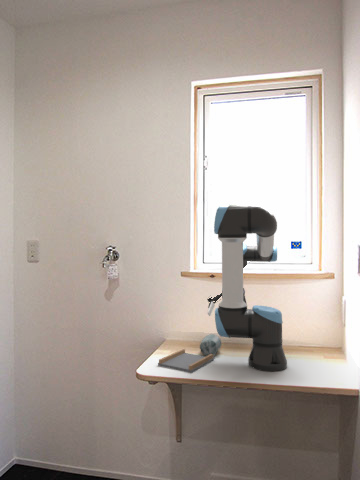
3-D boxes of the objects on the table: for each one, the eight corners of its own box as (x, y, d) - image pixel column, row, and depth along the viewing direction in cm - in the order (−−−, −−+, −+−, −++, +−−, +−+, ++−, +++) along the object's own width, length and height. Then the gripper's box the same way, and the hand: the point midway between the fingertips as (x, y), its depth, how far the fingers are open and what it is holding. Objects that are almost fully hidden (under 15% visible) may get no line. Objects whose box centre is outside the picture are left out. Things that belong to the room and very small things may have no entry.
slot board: (214, 360, 160) (214, 354, 160) (192, 372, 144) (192, 366, 144) (182, 354, 168) (182, 348, 168) (158, 365, 153) (158, 359, 153)
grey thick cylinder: (219, 352, 160) (210, 329, 164) (200, 360, 163) (191, 338, 167) (229, 351, 172) (220, 330, 176) (210, 359, 175) (203, 338, 179)
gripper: (260, 287, 187) (248, 323, 174) (215, 284, 200) (201, 317, 188) (256, 277, 182) (243, 313, 170) (210, 274, 196) (195, 308, 183)
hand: (221, 315), depth 179 cm, fingers open, 13 cm apart
